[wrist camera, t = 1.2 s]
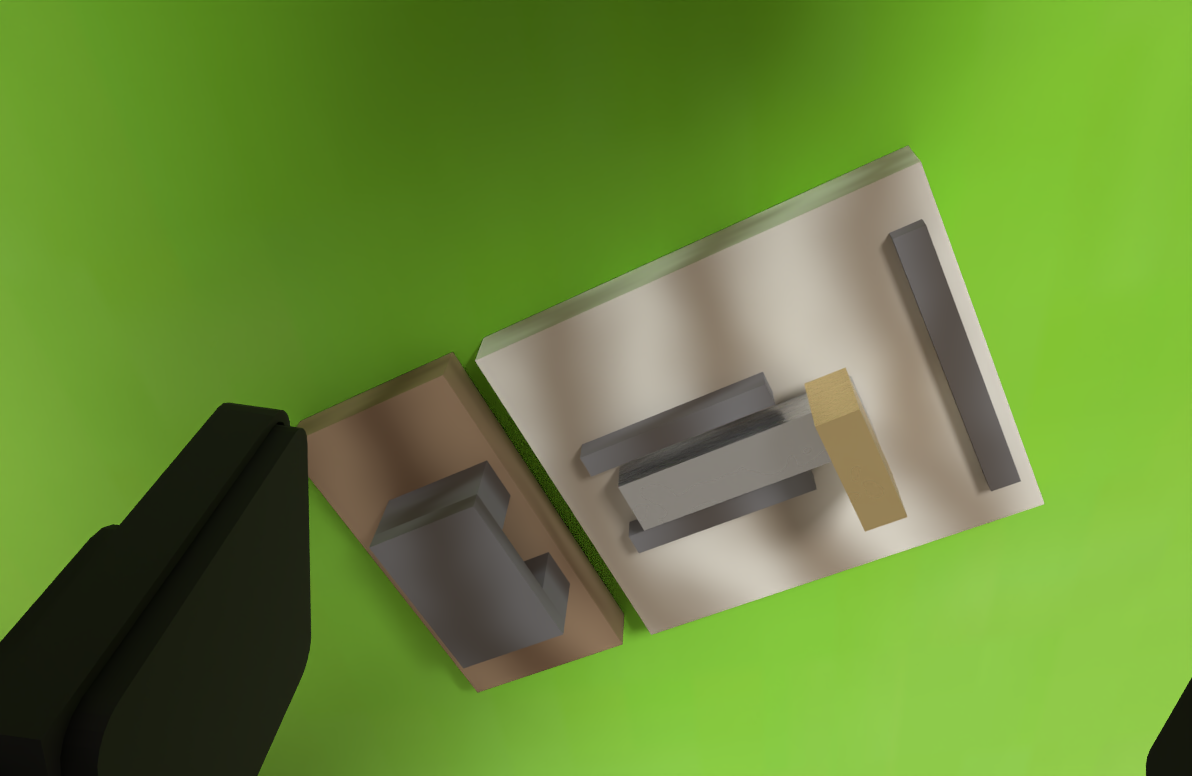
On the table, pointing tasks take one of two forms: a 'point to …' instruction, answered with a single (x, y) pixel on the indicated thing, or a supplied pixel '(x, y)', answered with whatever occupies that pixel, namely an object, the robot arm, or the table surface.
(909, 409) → the door and frame
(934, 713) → the table surface
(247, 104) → the table surface
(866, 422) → the bolt
